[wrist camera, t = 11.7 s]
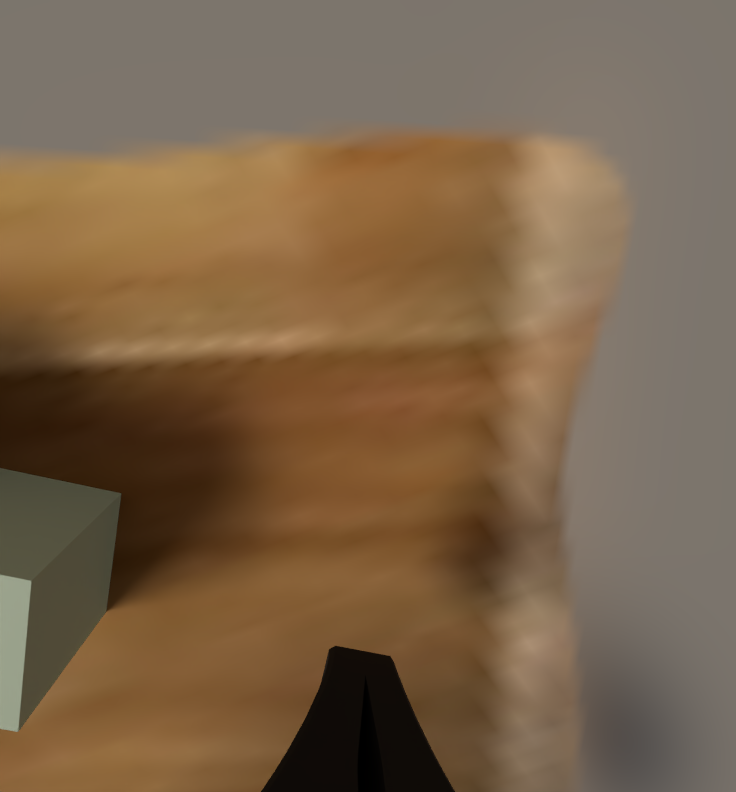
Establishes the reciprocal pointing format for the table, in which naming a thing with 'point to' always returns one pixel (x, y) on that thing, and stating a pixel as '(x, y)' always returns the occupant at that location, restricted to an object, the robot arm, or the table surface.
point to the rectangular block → (49, 581)
